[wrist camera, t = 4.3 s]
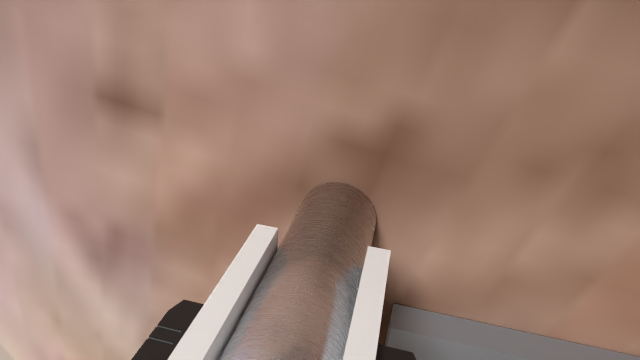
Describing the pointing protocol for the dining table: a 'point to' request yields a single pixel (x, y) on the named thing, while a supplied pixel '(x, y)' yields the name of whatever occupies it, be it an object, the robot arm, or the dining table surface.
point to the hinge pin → (309, 282)
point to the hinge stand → (479, 340)
